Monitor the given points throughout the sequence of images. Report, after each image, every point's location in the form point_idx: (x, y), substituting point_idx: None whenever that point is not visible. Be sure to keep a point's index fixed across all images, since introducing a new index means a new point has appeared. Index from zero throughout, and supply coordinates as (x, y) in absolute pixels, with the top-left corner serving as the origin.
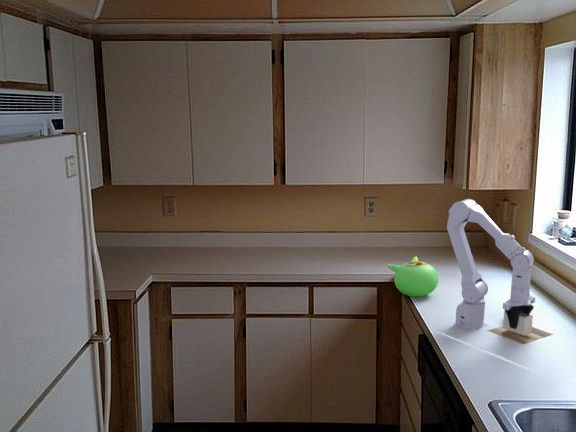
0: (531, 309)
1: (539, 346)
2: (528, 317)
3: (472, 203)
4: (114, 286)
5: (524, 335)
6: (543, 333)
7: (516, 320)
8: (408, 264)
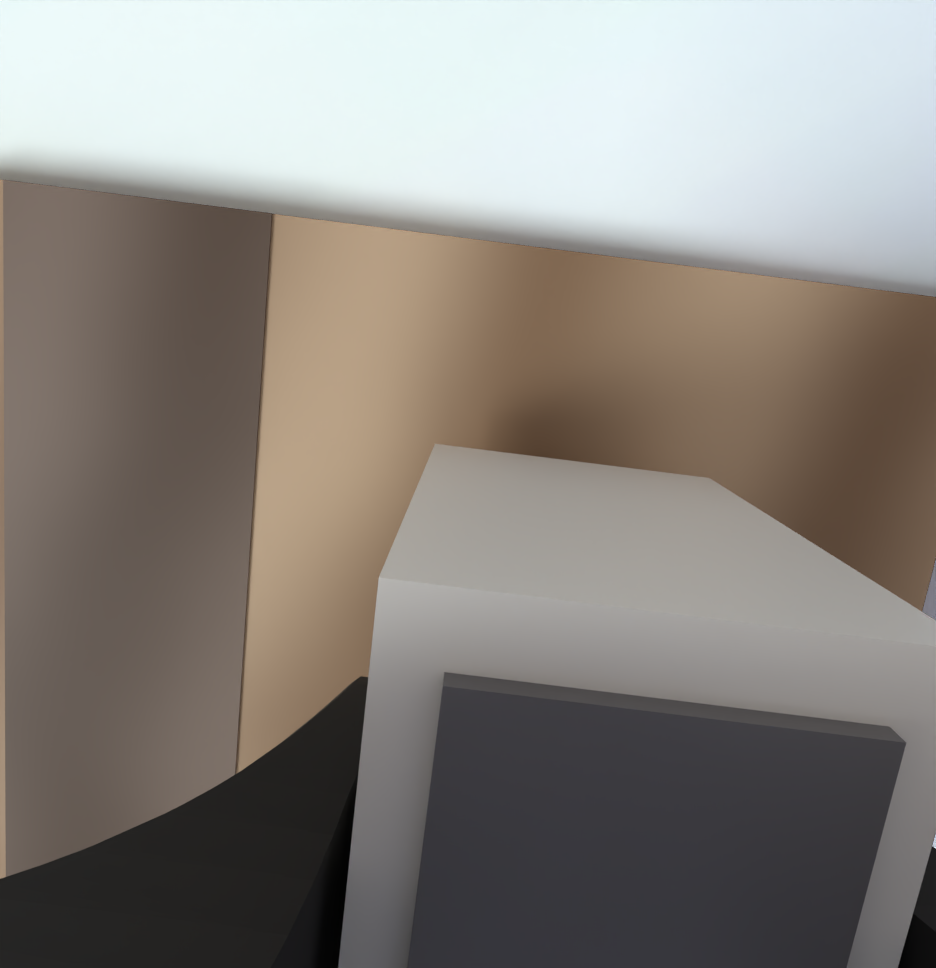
0: (30, 935)
1: (759, 71)
2: (709, 613)
3: None
4: None
5: None
6: (92, 329)
7: (932, 849)
8: None
